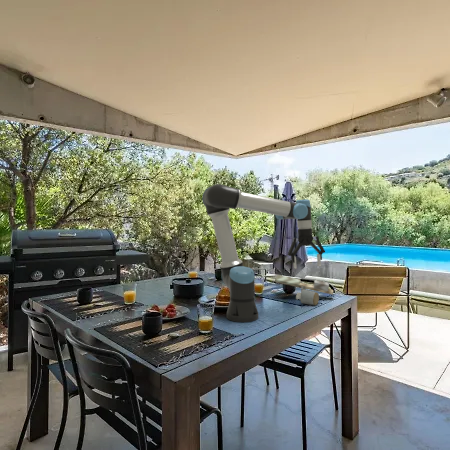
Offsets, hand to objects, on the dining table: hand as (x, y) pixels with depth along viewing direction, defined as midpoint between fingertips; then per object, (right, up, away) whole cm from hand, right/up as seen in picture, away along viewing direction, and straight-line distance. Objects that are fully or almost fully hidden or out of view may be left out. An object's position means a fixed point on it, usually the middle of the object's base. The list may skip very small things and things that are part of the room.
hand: (307, 267), depth 179 cm
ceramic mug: (+2, -20, +1) cm, 20 cm away
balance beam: (+2, -14, +15) cm, 20 cm away
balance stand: (+2, -20, +15) cm, 25 cm away
